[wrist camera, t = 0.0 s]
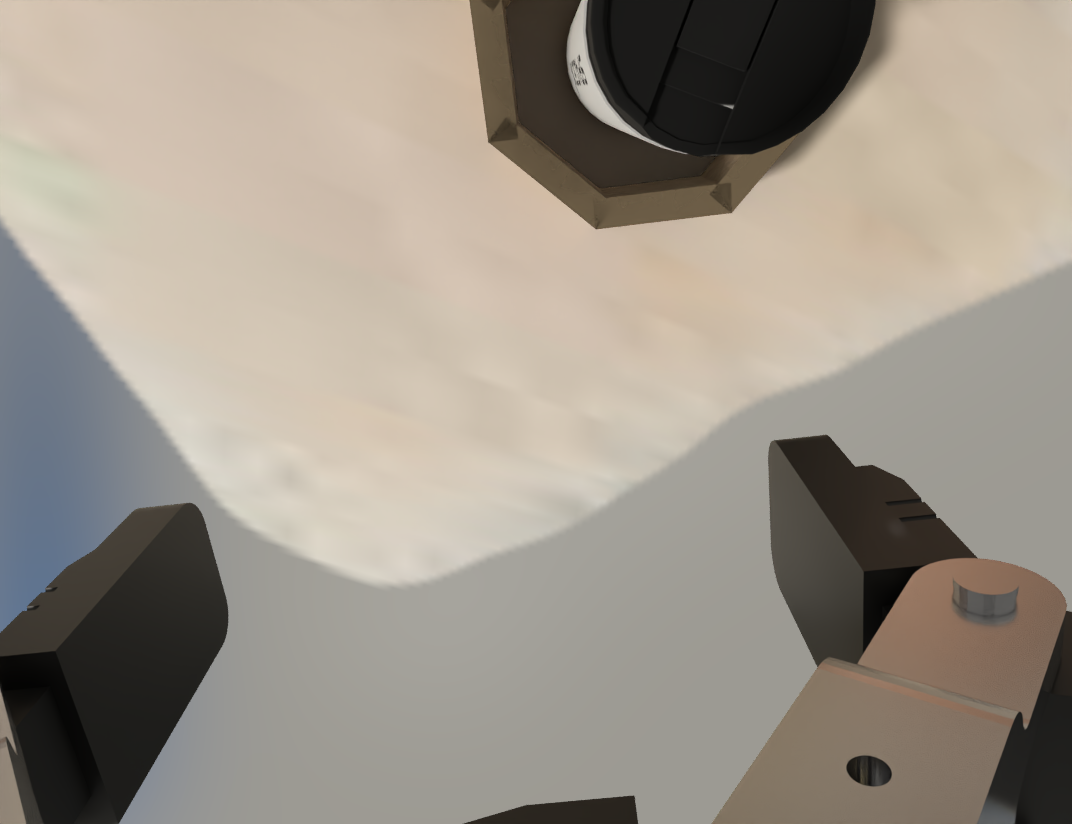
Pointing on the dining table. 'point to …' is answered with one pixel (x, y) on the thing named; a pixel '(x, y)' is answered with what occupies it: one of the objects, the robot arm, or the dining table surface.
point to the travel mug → (714, 67)
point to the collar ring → (595, 205)
